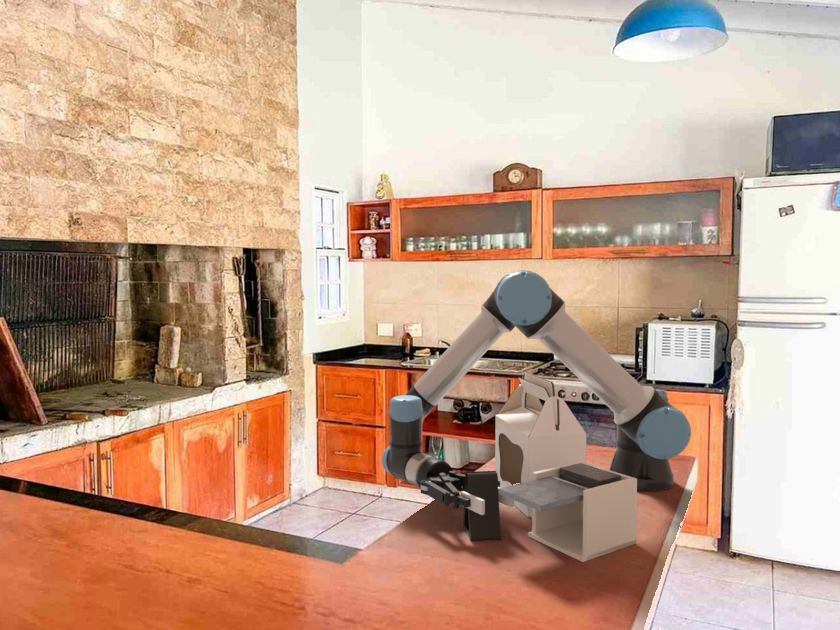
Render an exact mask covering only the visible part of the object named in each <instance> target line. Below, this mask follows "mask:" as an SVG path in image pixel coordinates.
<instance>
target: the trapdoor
mask: <svg viewBox="0 0 840 630" xmlns="http://www.w3.org/2000/svg"><path fill="white" fill-rule="evenodd" d="M559 479H562V480H565V481H568V482H571V483H574V484H577V485H580V486H583V487H585V488H588V489H590V488H594V487H598V486H601V485H605V484H609V483H613V482H617V481H621V475H618V474H615V473H612V472H608V471H605V470H602V469H599V468H595V467H592V466H589V465H586V464H582V463H579V464H574V465H570V466H566V467H561V468H560V474H559ZM583 490H586V489H584V488H581V487H578V486H576V485H573V484H570V483H567V482H564V481H561V480H558V479H555V478H552V477H546V478H542V479H537V480H533V481H529V482H525V483H520V484H516V485H512V486H507V487H503V488H499V494H501V495H503V496H505V497H508V498H510V499H513V500H515V501H517V502H520V503H522V504H525V505H527V506H530V507H532V508H534V509H537V510H539V511H544V510H548V509H552V508H555V507H559V506H563V505H566V504H570V503H574V502H577V501H581V500H583Z"/></svg>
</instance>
